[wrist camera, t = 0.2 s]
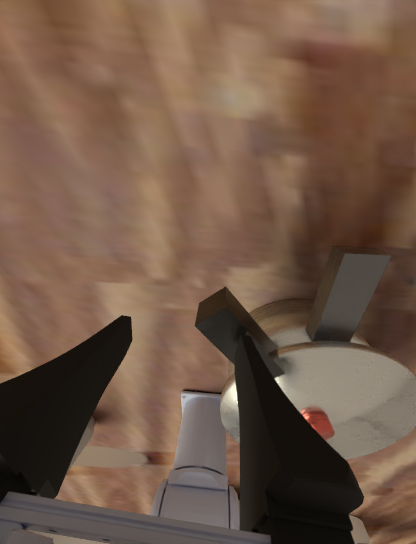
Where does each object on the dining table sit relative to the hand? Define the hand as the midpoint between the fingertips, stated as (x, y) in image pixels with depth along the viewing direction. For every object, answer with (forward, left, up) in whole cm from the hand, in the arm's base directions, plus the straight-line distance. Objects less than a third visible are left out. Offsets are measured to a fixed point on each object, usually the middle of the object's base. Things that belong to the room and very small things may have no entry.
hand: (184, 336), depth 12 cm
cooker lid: (-8, -10, -3) cm, 13 cm away
